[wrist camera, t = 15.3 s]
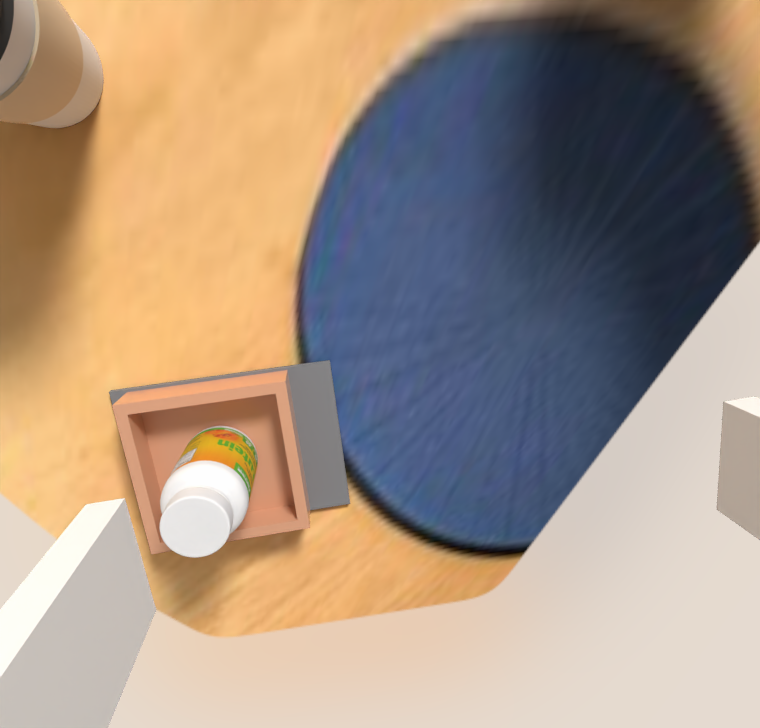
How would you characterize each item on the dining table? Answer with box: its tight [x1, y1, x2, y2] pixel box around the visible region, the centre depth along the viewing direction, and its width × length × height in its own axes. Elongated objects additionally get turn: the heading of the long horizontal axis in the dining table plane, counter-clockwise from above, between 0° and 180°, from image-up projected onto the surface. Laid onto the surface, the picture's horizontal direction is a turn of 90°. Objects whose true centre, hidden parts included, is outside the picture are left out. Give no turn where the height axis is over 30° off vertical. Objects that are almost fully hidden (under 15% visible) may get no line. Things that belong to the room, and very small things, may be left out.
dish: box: [112, 370, 310, 554], centre depth 39 cm, size 12×12×3 cm
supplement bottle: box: [160, 426, 258, 558], centre depth 35 cm, size 5×5×10 cm
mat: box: [109, 360, 350, 510], centre depth 40 cm, size 16×12×1 cm
